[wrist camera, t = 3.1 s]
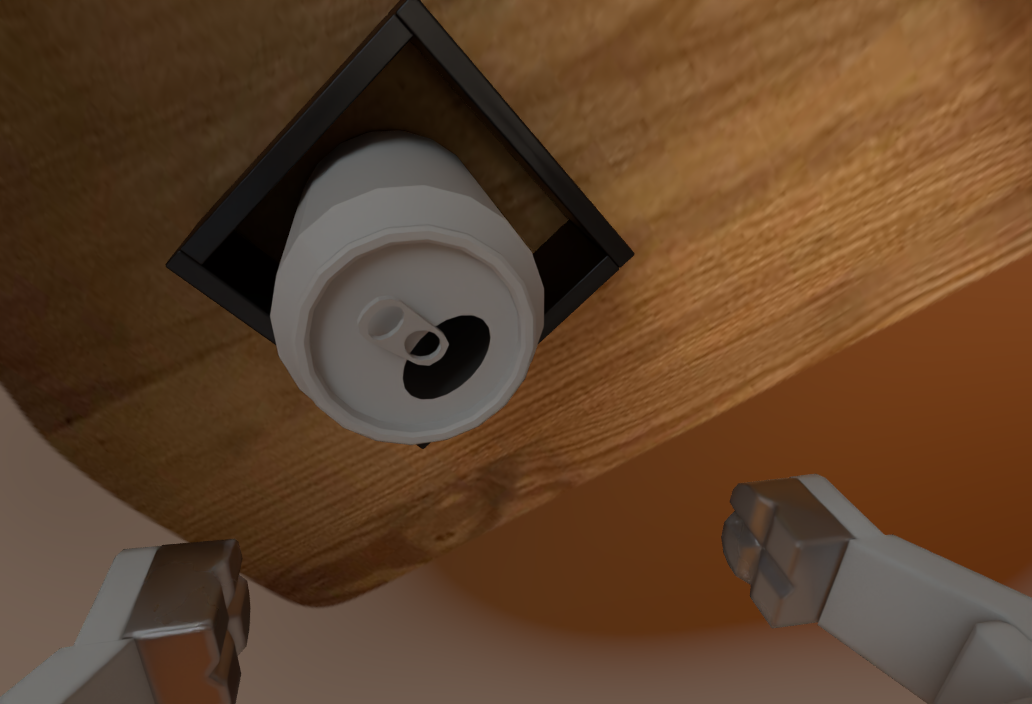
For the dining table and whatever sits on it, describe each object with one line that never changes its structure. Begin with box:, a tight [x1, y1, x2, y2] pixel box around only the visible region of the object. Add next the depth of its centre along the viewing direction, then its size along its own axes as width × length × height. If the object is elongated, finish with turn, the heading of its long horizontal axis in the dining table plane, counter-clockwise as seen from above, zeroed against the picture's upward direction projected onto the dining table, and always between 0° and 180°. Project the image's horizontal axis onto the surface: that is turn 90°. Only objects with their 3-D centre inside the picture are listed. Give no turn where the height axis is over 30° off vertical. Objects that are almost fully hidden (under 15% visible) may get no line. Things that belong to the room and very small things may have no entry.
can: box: [270, 130, 544, 445], centre depth 21 cm, size 8×8×12 cm
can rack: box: [166, 0, 634, 449], centre depth 24 cm, size 12×12×5 cm
